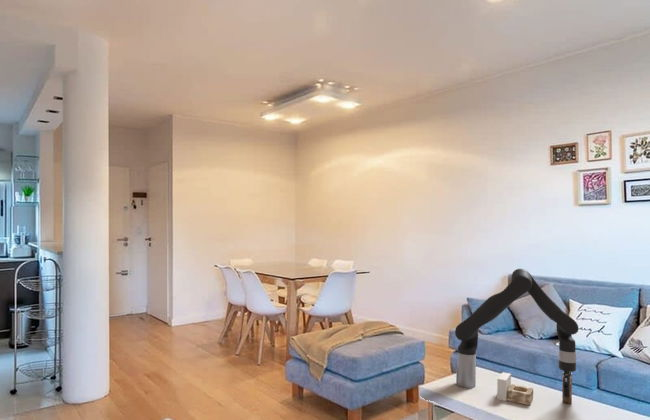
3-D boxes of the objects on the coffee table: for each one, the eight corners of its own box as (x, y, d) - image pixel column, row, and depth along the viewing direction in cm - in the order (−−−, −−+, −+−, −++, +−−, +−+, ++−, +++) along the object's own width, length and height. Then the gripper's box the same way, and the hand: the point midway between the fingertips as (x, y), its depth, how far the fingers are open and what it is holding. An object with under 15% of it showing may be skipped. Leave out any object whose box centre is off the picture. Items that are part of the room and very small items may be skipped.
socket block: (507, 400, 217) (507, 390, 217) (511, 394, 225) (511, 384, 225) (530, 405, 211) (530, 394, 212) (533, 398, 220) (533, 388, 220)
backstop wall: (497, 399, 219) (497, 378, 219) (502, 391, 229) (502, 372, 229) (505, 401, 216) (506, 380, 217) (510, 393, 226) (510, 373, 227)
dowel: (561, 402, 216) (562, 377, 216) (562, 399, 219) (562, 375, 219) (571, 404, 213) (571, 379, 214) (572, 401, 217) (572, 376, 217)
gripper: (575, 365, 209) (574, 402, 208) (577, 357, 221) (576, 392, 220) (557, 362, 213) (556, 398, 212) (560, 355, 225) (559, 389, 224)
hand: (567, 395), depth 216 cm, fingers closed on dowel, 4 cm apart
